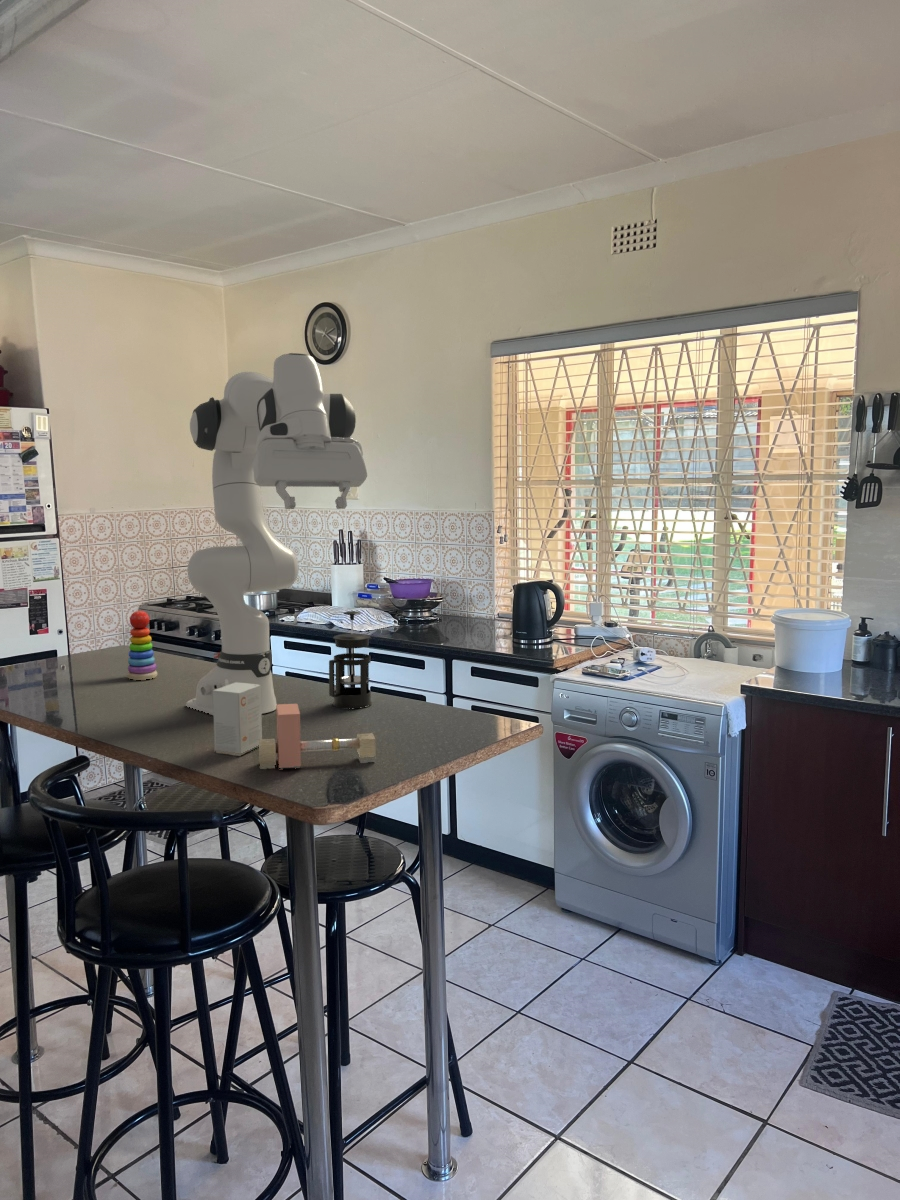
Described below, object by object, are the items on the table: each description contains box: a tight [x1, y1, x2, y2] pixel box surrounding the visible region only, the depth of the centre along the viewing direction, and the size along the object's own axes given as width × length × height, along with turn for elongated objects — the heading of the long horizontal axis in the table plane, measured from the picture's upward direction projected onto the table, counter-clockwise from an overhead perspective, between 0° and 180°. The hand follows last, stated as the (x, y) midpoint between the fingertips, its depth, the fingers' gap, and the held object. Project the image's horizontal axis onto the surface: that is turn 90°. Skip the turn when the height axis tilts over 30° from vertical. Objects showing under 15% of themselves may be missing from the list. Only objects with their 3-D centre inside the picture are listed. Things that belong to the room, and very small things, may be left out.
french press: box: [328, 610, 373, 710], centre depth 219 cm, size 12×9×23 cm
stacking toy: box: [126, 610, 158, 681], centre depth 246 cm, size 8×8×19 cm
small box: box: [212, 682, 263, 753], centre depth 182 cm, size 8×6×13 cm
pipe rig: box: [258, 732, 376, 767], centre depth 174 cm, size 22×4×5 cm, turn 103°
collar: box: [275, 703, 302, 769], centre depth 172 cm, size 4×8×10 cm, turn 13°
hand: (316, 507), depth 159 cm, fingers open, 8 cm apart
